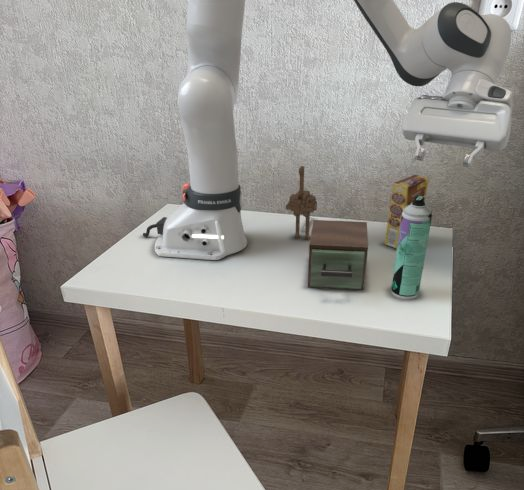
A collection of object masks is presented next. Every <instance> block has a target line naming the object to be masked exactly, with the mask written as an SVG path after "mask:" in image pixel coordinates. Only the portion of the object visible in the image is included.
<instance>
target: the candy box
mask: <svg viewBox="0 0 524 490" xmlns="http://www.w3.org/2000/svg"><path fill="white" fill-rule="evenodd" d="M429 180H430V178H429V177H427V176H425V175H424V176H423V175H417V174H413V175H411V176H408V177H406V178H403V179H400V180H398V181H394V182H393V187H392V193H391V199H390V205H389V211H388V217H387V225H386V229H385V230H386V231H385V238H384V245H385V246H388V247H390V248H393V249H396V250H397V246H398V238H399V231H400V224H401V217H402V212H403V208H404V207H406V206H409V205H411V203H412V202H413V201H414V199H415V197H416V196H423V197H424V202H425V203H426V196H427V191H428V186H429Z"/></svg>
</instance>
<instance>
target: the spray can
mask: <svg viewBox="0 0 524 490" xmlns="http://www.w3.org/2000/svg"><path fill="white" fill-rule="evenodd" d="M432 218H433V209H432V208H430V207H429V206H427V203H426V201H425V202H424V197H423V196H416V197H415V199H414V201H413V202H412V203H411V205H409V206H406V207H404V208H403V212H402V217H401V224H400V231H399V238H398V246H397V249H396V253H395V260H394V261H395V262H394V266H393V267H394V268H393V275H392V283H391V289H390V290H391V292H390V294H391V295H392V296H393V297H394V298H397V299H399V300H405V301H407V300H408V301H409V300H410V301H411V300H414V299H416V298H418V297H419V293H420V289H421V282H422V277H423V271H424V265H425V260H426V253H427V247H428V241H429V236H430V231H431V225H432Z"/></svg>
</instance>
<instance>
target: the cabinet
mask: <svg viewBox="0 0 524 490" xmlns="http://www.w3.org/2000/svg"><path fill="white" fill-rule="evenodd" d="M309 238H310V239H309V245H308V267H307V268H308V270H307V288H315V289H334V290H350V291H364V290H365V289H364V288H365V281H366V280H365V279H366V273H367V272H366V270H367V263H368V262H367V261H368V254H369V253H368V251H369V241H368V240H369V239H368V238H369V237H368V222H367V221H350V220H349V221H348V220H347V221H346V220H326V219H325V220H324V219H313V220H312V227H311V232H310V237H309ZM312 249H336V250H358V251H364V252H365V256H364V266H363V275H362V285H361V289H351V288H333V287H314V286H310V281H311V257H312Z"/></svg>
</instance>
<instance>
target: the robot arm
mask: <svg viewBox="0 0 524 490" xmlns="http://www.w3.org/2000/svg"><path fill="white" fill-rule="evenodd" d="M186 1H187V3H186V18H185V19H186V21H185V31H186V43H187V45H186V47H187V72H186V74H187V75H186V76H185V77H184V78H183V79H182V81H181V83H180V84H179V87H178V90H177V108H178V113H179V117H180V124H181V129H182V134H183V137H184V142H185V147H186V152H187V161H188V173H189V183H184V185H182V189H181V190H182V201H183V203H182V204H181V205H180V206H178V207H177V208H176V209H175V210H173V212H171V213H170V214H169V215H168V216H167V217H166V216H163V217H161V219H159V220H158V221H157V222H156V223H153V224H150V225H148V226H147V228H146V231H145V232H142V237H145V238H146V237H148V236H149V235H150V233H151V230H152V229H155V228H156V231H157V235H158V236H157V238H156V240H155V241H154V253H156V255H157V256H159V257H168V258H177V259H178V258H181V259H193V260H205V261H219V260H222V259H223V258H225V257H227V256H230V255H233V254H237V253H239V252H240V251H243V250H244V249H246V247H247V245H248V239H247V237H246V233H245V230H244V225H243V219H242V213H241V212H242V208H243V205H242V203H243V202H242V201H243V199H242V189H241V188H242V187H241V185H240V184H239V183H240V182H239V162H238V161H239V159H238V147H237V139H236V131H235V130H236V129H235V120H234V119H235V118H234V106H235V104H236V102H237V98H238V90H239V79H240V68H241V54H242V37H243V28H244V17H245V9H246V0H186ZM353 2H354V3H355V5H356V7H357V9H358V10H359V11H360V13H361V14H362V16H363V18H364V19H365V21H366V22H367V23H368V25H369V27H370V28H371V29H372V31H373V33H374V35H376V37H377V38H378V40H379V41H380V43H381V44H382V46H383V47H384V49H385V50H386V52H387V54H388V56H389V58H390V59H391V60H390V61H391V62H392V65H393V67H394V69H395V71H396V73H397V75H398V77H399V78H400V79H401V80H402V81H403V82H405V83H406V84H407V85H410V86H413V87H424V86H426V85H428V84H430V83H431V82H432V81H433V80H435V79H436V77H438V76H439V75H440V74H442V73H443V72H444V71H446V70H449V71H450V73H451V74H450V75H451V76H450V78H449V81H448V84H447V86H446V88H445V91H444V94H443V96H442V95H441V96H440V95H428V94H422V95H421V96H418V97H416V98H414V99H413V100H412V101H411V103H410V105H409V109H408V112H407V114H406V115H405V117H404V120H403V122H402V124H401V133H402V135H403V137H404V138H405V140H408V141H415V145H416V150H415V152H414V161H421V162H423V161H424V158H425V156H426V150H425V148H424V147H423V146H424V144H425V143H431V144H439V145H447V146H454V147H461V148H471V149H474V150H473V151H472V152H471V153H470V154H469V153H468V154H467V153H466V154H465V155H464V159H463V161H462V167H463V168H470V169H471V168H472V167H473V164H474V162H475V161H476V160H477V159H478V158H479V157H481V156H482V155H483V154H484V152H485V151H486V150H487V151H494V152H501V151H503V150H504V149H506V148H507V145H508V144H509V143H508V142H509V140H510V135H511V130H512V113H513V109H514V95H513V92H512V91H511V90H510V89H508V88H505V87H503V86H500V85H498V84H497V80H498V78H499V77H500V76H501V74H502V72H503V69H504V67H505V64H506V61H507V60H508V59H507V58H508V55H509V52H510V48H511V43H512V30H511V29H512V28H511V26H510V24H509V23H508V21H507V20H506V19H505V17H502V16H501V15H499V14H495V13H487V14H480V13H478V12H477V11H476V10H475V9H474V8H473V7H471V6H469V5H468V4H466V3H462V2H459V1H453V2H452V1H451V2H449V3H447V4H445V5H444V6H443V7H442V8H440V9H439V10H437V12H435V13H434V14H433V15H431V16H430V17H429V18H428V19H427V20H426V21H425V22H424V23H423V24H421V25H420V26H419V27H418V28H414V27H412V26H410V24H409V23H408V21H407V19H406V18H405V16H404V15H403V13H402V12H401V10H400V8H399V7H398V5H397V4H396V2H395V1H394V0H353ZM422 147H423V148H422Z"/></svg>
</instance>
